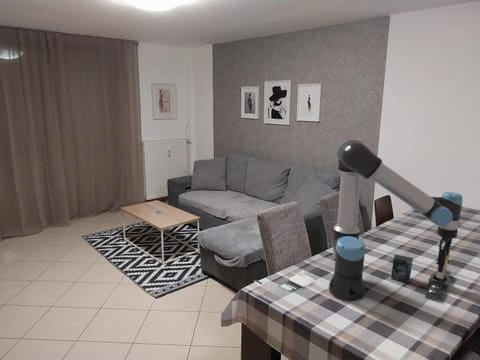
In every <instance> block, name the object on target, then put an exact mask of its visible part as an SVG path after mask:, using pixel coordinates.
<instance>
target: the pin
mask: <svg viewBox="0 0 480 360" xmlns="http://www.w3.org/2000/svg"><path fill="white" fill-rule="evenodd" d="M448 258H449V259H450V254H449V255H448V254H447V255H446V260H445V270H444V277H443V279H440V278H437V280H439V281H445V275H446V270H447V268H448V263H449V262H448V260H449V259H448Z"/></svg>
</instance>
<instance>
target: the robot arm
mask: <svg viewBox="0 0 480 360" xmlns="http://www.w3.org/2000/svg"><path fill="white" fill-rule="evenodd" d="M337 157H338V159H337V160H338V162H337V171H338V172H339V173H340V183H339V197H338V210H337V223H336V224H335V225H334V226H333V230H332V231H333V233H332V235H331V237H330V238H331V241H330V242H331V247H332V249H333V252H334V257H335V259H334V272H333V275H332V276H331V279H330V281H329V284H328V291H329V292H330V294H331V295H332V296H334V297H336V298H338V299H340V300H344V301H351V302H352V301H353V302H354V301H361V300H362V299H363V298H365V296H366V288H365V284H364V283H365V282H364V280H363V273H364V265H365V264H364V262H365V255H366V245H365V243H364V241H362V239H360V233H361V230H360V228H359V227H358V215H359V203H360V202H359V201H360V194H361V193H360V190H361V182H362V181H361V179H362V177H363V178H365V179H366V180H372V181H373V182H375V183H376V184H378V185H379V186H381V187H382V188H383V189H385V190H387V191H388V192H389V193H391V194H392V195H394V196H395V197H396V198H398V199H399V200H401V201H402V202H404V203H405V204H406V205H408V206H410V208H411V212H413V214H419V215H420V214H421V215H422V216H424V217H425V218H427V219H428V220H430V222H432V223H433V224H434V225H436V226H438V227H437V231H436V232H437V233H436V234H437V235H438V237H440V238H441V239H440V240H439V244H438V255H437V262H436V263H435V264H436V265H437V268H436V269H437V270H436V274H437V275H436V277H437V278H440V279H443V277H444V270H445V260H446V255H447V254H448V255H449V256H450V251H451V247H452V246H451V245H452V241H453V239H456V238H457V237H458V229H459V225H461V222H460V218H461V211H462V207H463V196H462V194H460V193H458V192H453V191H446V192H445V191H444V192H442V195H441V196H430V195H428V194H427V193H426V192H424V191H423V190H421V189H420V188H418V187H417V186H415V184H413V183H411V182H410V181H408V180H407V179H406V178H404V177H402V176H401V175H400V174H398V173H397V172H396V171H394V170H392V169H391V168H390V167H388V166H387V165H386V164H384V163H383V159H381V158H380V157H379V156H377V154H375V153H374V152H373V151H372V150H371V149H370V148H369V147H368V146H367V145H365V144H364V143H362V142H361V141H360V140H358V139H350V140H345V141H344V142H342V143H341V144H340V145H339V147H338V149H337ZM447 263H450V257H449V258H448V262H447Z"/></svg>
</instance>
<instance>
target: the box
mask: <svg viewBox="0 0 480 360" xmlns="http://www.w3.org/2000/svg"><path fill="white" fill-rule="evenodd" d="M413 260H414V258H413V257H410V256H405V255H400V254H396V253H394V256H393V261H392V262H393V263H392V270H391V277H390V279H391V280H392V279H393V280H395V281H396V280H397V281H400V282H405V283H408V284H409V283H410V280H411V274H412V266H413Z"/></svg>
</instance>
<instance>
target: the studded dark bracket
mask: <svg viewBox="0 0 480 360" xmlns="http://www.w3.org/2000/svg"><path fill="white" fill-rule="evenodd" d="M451 274H452V272H451V271H450V270H449V269H446V275H445V281H439V280H437V277H436V275H437V273H434V272H433V273H432V274H430V277H429V278H428V281H427V282H428V283H427V287H428V289H427V290H426V292H425V296H424V297H425V298H426V299H428V300H430V301H434V302H436V301H437V300H438V298H439V296H440V295H441V293H442V291H443V292H447V291H448V290H449V289H450V286H451V280H452V278H451Z"/></svg>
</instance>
